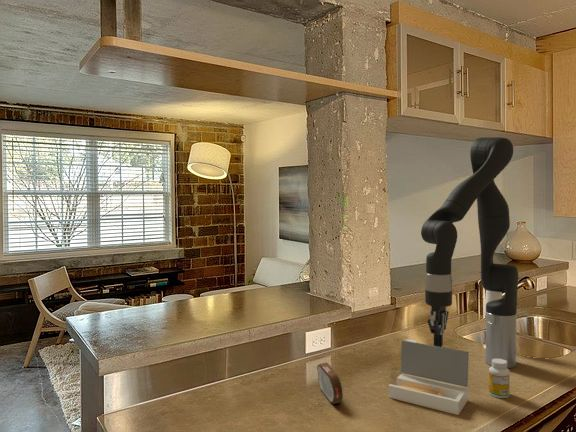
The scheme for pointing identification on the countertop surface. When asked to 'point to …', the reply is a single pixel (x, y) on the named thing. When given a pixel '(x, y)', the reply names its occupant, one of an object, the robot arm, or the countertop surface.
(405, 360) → the cover
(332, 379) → the tin
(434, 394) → the rod
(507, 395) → the supplement bottle
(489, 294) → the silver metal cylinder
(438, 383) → the white open tray
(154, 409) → the countertop surface
